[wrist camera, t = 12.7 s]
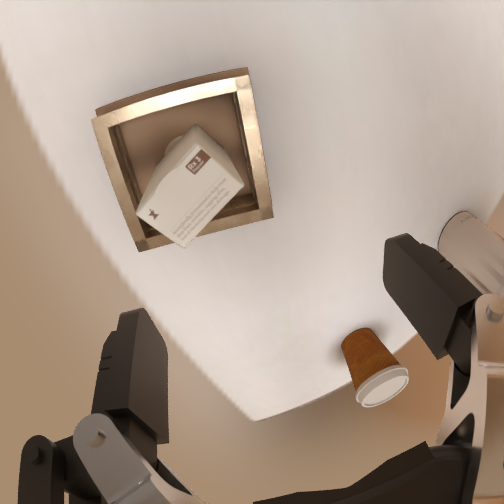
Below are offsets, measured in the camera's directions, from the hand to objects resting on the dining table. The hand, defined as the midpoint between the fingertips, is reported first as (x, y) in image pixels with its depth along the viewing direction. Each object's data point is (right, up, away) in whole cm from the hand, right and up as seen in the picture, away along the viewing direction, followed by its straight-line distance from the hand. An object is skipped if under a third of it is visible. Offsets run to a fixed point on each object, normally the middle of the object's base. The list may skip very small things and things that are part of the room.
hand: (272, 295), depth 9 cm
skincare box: (-7, +11, +19) cm, 23 cm away
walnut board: (-7, +11, +19) cm, 23 cm away
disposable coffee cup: (+18, -14, +41) cm, 47 cm away
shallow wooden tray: (-7, +11, +19) cm, 23 cm away
